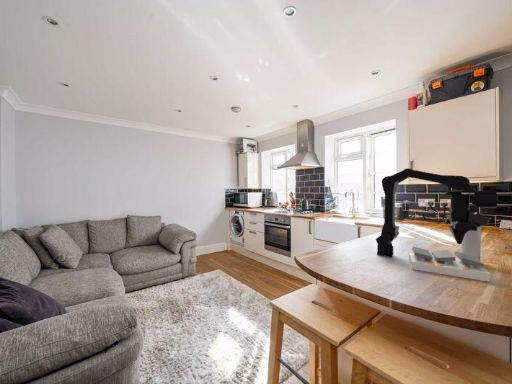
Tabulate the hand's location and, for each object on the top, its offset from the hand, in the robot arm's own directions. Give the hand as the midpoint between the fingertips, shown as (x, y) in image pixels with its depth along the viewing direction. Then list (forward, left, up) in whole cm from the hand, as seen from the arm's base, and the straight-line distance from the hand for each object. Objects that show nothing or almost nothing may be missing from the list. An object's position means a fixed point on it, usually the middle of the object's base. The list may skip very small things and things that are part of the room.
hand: (459, 244), depth 88 cm
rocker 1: (-12, 0, -7) cm, 14 cm away
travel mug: (+8, +16, -11) cm, 21 cm away
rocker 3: (+3, 0, -7) cm, 7 cm away
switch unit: (-5, -1, -11) cm, 12 cm away
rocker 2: (-5, 0, -7) cm, 8 cm away
